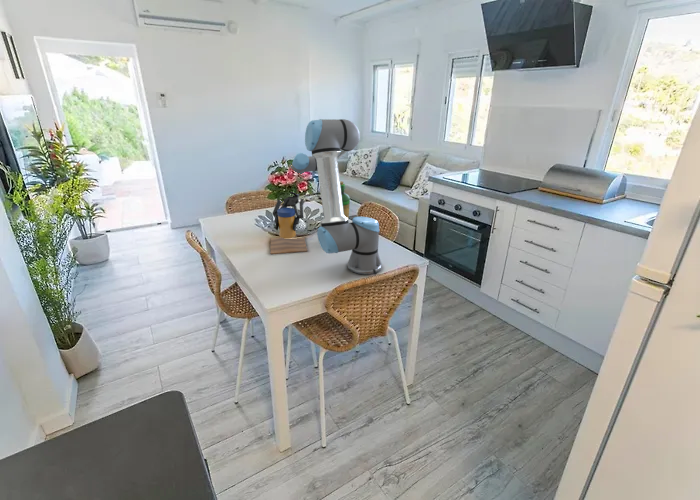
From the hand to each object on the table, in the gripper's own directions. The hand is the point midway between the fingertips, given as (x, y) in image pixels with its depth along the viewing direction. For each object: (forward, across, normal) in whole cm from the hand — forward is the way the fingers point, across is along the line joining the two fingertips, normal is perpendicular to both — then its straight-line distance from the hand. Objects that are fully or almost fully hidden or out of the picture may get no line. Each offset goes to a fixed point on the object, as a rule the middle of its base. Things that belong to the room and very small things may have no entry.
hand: (285, 229), depth 174 cm
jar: (+1, 0, -6) cm, 6 cm away
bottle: (-14, -23, -29) cm, 40 cm away
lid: (-8, 0, +4) cm, 9 cm away
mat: (+5, 0, -9) cm, 10 cm away
